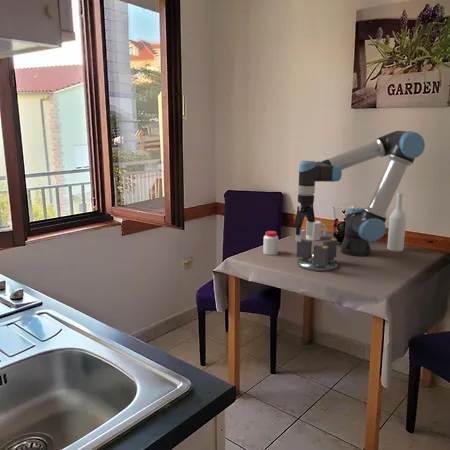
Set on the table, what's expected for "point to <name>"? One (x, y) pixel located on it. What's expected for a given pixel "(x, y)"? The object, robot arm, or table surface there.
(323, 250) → the leg
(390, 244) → the bottle
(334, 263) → the plate
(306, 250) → the knob
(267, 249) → the pill bottle
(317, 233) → the mug
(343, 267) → the table surface
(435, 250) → the table surface
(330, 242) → the knob
